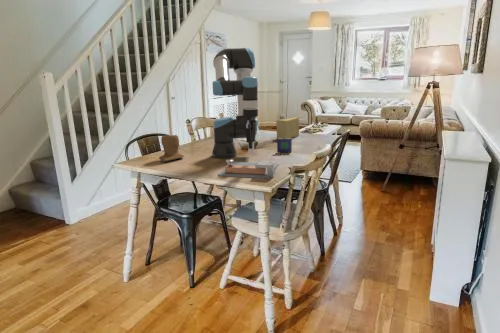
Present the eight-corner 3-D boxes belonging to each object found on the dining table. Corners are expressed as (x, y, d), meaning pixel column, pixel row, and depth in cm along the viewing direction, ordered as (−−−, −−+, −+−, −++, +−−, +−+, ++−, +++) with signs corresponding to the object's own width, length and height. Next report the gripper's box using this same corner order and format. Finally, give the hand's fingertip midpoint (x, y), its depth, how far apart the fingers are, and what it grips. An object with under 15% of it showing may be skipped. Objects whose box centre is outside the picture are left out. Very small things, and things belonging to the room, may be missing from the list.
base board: (217, 175, 171) (217, 174, 171) (233, 162, 195) (233, 161, 195) (268, 178, 164) (268, 177, 164) (278, 164, 189) (278, 163, 188)
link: (223, 172, 172) (223, 167, 171) (226, 170, 177) (226, 164, 176) (264, 174, 168) (264, 168, 167) (266, 171, 173) (266, 166, 172)
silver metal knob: (224, 166, 172) (224, 161, 171) (227, 164, 176) (227, 159, 175) (232, 166, 171) (232, 161, 170) (234, 164, 175) (234, 159, 174)
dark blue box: (291, 151, 220) (291, 135, 217) (292, 152, 217) (292, 135, 214) (276, 152, 219) (276, 135, 216) (277, 153, 216) (277, 136, 213)
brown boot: (174, 155, 216) (173, 132, 212) (186, 158, 208) (185, 134, 204) (154, 160, 205) (151, 135, 201) (165, 163, 197) (163, 137, 193)
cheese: (293, 134, 278) (293, 116, 274) (303, 136, 271) (303, 117, 267) (276, 139, 262) (275, 119, 259) (286, 140, 256) (286, 120, 252)
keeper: (255, 177, 167) (254, 164, 165) (258, 172, 175) (258, 160, 173) (272, 178, 165) (272, 165, 163) (275, 173, 172) (275, 161, 171)
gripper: (247, 106, 179) (248, 150, 185) (239, 110, 167) (240, 157, 174) (261, 107, 176) (261, 151, 183) (253, 110, 165) (254, 158, 171)
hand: (251, 154), depth 178 cm, fingers closed
